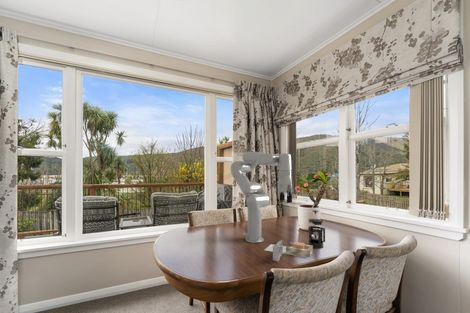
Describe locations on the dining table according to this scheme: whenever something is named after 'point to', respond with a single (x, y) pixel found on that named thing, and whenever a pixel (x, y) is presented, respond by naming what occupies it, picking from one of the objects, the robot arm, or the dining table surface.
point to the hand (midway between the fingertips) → (285, 201)
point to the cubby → (300, 250)
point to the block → (299, 245)
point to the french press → (315, 243)
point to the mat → (270, 248)
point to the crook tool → (277, 251)
